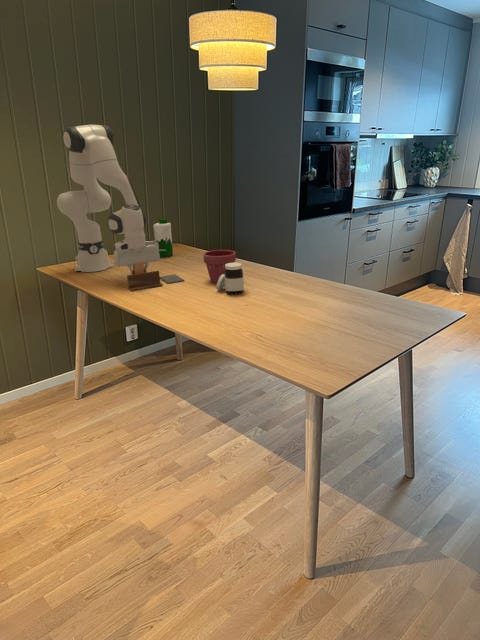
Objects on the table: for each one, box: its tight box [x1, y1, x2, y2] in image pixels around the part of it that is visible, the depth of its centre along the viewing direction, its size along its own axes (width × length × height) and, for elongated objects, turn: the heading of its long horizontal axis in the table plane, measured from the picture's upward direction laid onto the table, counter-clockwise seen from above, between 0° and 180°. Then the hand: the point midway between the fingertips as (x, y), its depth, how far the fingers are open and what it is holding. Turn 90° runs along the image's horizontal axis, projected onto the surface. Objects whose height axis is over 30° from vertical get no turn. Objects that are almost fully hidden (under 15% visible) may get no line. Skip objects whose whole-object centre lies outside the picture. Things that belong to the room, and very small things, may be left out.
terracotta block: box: [132, 262, 145, 275], centre depth 211 cm, size 4×4×9 cm
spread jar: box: [215, 262, 245, 295], centre depth 194 cm, size 12×11×12 cm
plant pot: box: [203, 249, 237, 284], centre depth 209 cm, size 14×14×13 cm
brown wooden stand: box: [126, 270, 164, 292], centre depth 205 cm, size 5×14×6 cm, turn 118°
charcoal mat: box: [160, 273, 185, 285], centre depth 216 cm, size 12×8×1 cm, turn 28°
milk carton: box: [152, 218, 174, 258], centre depth 260 cm, size 9×9×20 cm
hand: (138, 273), depth 212 cm, fingers closed on terracotta block, 4 cm apart
